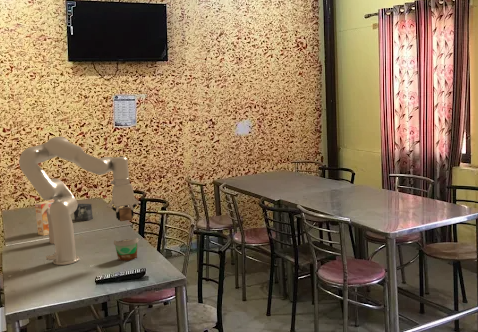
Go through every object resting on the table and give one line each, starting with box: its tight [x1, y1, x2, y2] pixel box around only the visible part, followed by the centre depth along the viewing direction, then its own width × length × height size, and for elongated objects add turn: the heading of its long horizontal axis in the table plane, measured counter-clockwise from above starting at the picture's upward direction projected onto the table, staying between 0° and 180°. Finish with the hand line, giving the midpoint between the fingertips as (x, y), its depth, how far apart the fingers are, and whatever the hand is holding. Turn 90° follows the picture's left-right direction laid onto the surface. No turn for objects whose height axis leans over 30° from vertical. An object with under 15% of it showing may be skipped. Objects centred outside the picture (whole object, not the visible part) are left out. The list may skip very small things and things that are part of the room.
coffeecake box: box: [34, 199, 55, 237], centre depth 328 cm, size 15×7×20 cm, turn 143°
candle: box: [47, 208, 55, 245], centre depth 303 cm, size 7×14×20 cm, turn 59°
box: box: [73, 203, 94, 222], centre depth 360 cm, size 11×7×10 cm, turn 73°
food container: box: [113, 237, 139, 262], centre depth 264 cm, size 12×6×10 cm, turn 105°
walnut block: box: [118, 206, 133, 222], centre depth 262 cm, size 6×6×6 cm
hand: (125, 218), depth 262 cm, fingers closed on walnut block, 5 cm apart
